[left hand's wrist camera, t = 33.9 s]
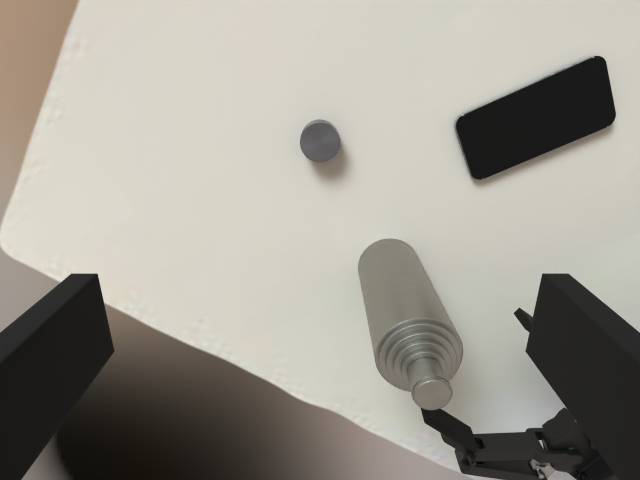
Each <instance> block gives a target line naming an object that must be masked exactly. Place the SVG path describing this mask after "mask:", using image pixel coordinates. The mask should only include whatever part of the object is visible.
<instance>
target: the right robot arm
mask: <svg viewBox="0 0 640 480" xmlns="http://www.w3.org/2000/svg"><path fill="white" fill-rule="evenodd" d="M514 314H515V316H516V317H517V319H518V320H519V321H520V323H521V324H522V325H523V327H524V328H525V329H526V330H527V331H528V332H530V329H531V324H532V320H533V317H532V316H530V315H529V314H527V313H526V312H525V311H523V310H522V309H520V308H519V309H518V310H516V311H515V312H514ZM421 411H422V415H423V418H424V422H425V423H426V424H427V425H429V426H431V427H432V428H434V429H436V430H437V431H439V432H440V433H441V436H442V439H443V441H444V442H445V443H447V444H449V445H450V446H452V447H453V448H455V454H456V458H457V461H458V464H459V467H460V470H461V472H462V473H463V474H468V475H475V476H482V477H489V478H496V479H503V480H548V479H547V478H548V477H549V476H550V475H551V474H552V473H553V472H554V471H555V470H557V471H563V472H567V473H569V474H570V475H572V476H573V477H574V478H575V479H577V480H619V479H618V478H617V476H616V475H615V474H614V472H613V471H612V470H611V468H610V467H609V465H608V464H607V463H606V461H605V460H604V459H603V457H602V456H601V454H600V453H599V452H598V450H597V449H596V448H595V446H594V445H593V443H592V442H591V441H590V439H589V438H588V437H587V435H586V434H585V432H584V431H583V430H582V428H581V427H580V426H579V424H578V423H577V421H576V420H575V419H574V417H573V416H572V414H571V413H570V412H569V410H568V409H566V408H563V409H562V410H561V411H559V412H558V414H557V415H556V416H555V417H554V418H553V419H551V420H549V421H547V422H546V423H545V424H543V425H542V427H543V428H528V429H526V432H518V433H492V434H473V433H472V430H471V428H470V427H469V426H467V425H466V424H464V423H463V422H461V421H459V420H458V419H456V418H455V417H453V416H451V415H450V414H448V413H447V412H445V411H443V410H442V409H436V410H426V409H423V408H421ZM539 440H542V442H543V447H544V449H543V448H542V446H541V444H540V442H539Z"/></svg>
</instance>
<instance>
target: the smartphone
mask: <svg viewBox="0 0 640 480" xmlns="http://www.w3.org/2000/svg"><path fill="white" fill-rule="evenodd" d="M615 117H616V112H615V107H614V101H613V96H612V91H611V86H610V80H609V75H608V70H607V65H606V61H605V59H604V58H603V57H600V56H592V57H589V58H587V59H584V60H582V61H580V62H578V63H575V64H573V65H571V66H569V67H566V68H564V69H562V70H560V71H557V72H555V73H553V74H551V75H548V76H546V77H544V78H542V79H540V80H537V81H535V82H533V83H531V84H528V85H526V86H524V87H522V88H519V89H517V90H515V91H513V92H510V93H508V94H506V95H504V96H502V97H499V98H497V99H495V100H493V101H490V102H488V103H486V104H484V105H481V106H479V107H477V108H475V109H472V110H470V111H468V112H466V113H463V114H461V115H460V116H459V117H458V118H457V119H456V121H455V125H454V126H455V130H456V133H457V137H458V140H459V143H460V146H461V149H462V152H463V155H464V158H465V161H466V164H467V167H468V170H469V173H470V175H471V176H472V177H474V178H475V179H484V178H486V177H489V176H491V175H494V174H496V173H498V172H501V171H503V170H506V169H508V168H510V167H513V166H515V165H517V164H520V163H522V162H525V161H527V160H529V159H532V158H534V157H537V156H539V155H541V154H544V153H546V152H549V151H551V150H553V149H556V148H558V147H561V146H563V145H565V144H568V143H570V142H573V141H575V140H577V139H580V138H582V137H585V136H587V135H589V134H592V133H594V132H596V131H599V130H601V129H604V128H606V127H608V126H610V125H611V124H612V123H613V121H614V120H615Z"/></svg>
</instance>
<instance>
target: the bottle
mask: <svg viewBox="0 0 640 480" xmlns="http://www.w3.org/2000/svg"><path fill="white" fill-rule="evenodd" d="M358 272H359V278H360V283H361V288H362V293H363V299H364V304H365V309H366V315H367V320H368V325H369V331H370V336H371V341H372V346H373V352H374V357H375V362H376V366H377V369H378V371H379V373H380V374H381V376H382V377H383V378H384V379H385V380H386V381H388V382H389V383H390V384H392V385H393V386H395V387H397V388H399V389H402V390H405V391H410V392H412V393H411V395H412V398H413V400H414V401H415V403H416V404H417V405H418V406H419V407H421V408H423V409H426V410H436V409H440V408H442V407H444V406H445V405H446V404H447V403H448V402H449V401H450V399H451V397H452V388H451V386H450V383H449V380H450V379H451V378H452V377H453V376H454V375H455V373H456V372H457V370H458V368H459V366H460V363H461V360H462V356H463V346H462V342H461V339H460V337H459V335H458V333H457V331H456V329H455V327H454V325H453V323H452V322H451V320H450V318H449V316H448V314H447V312H446V310H445V308H444V306H443V304H442V302H441V300H440V298H439V297H438V295H437V293H436V291H435V289H434V287H433V285H432V283H431V281H430V279H429V277H428V275H427V273H426V271H425V270H424V268H423V266H422V264H421V262H420V260H419V258H418V256H417V254H416V252H415V251H414V249H413V248H412V247H411V246H410V245H408V244H407V243H405V242H403V241H401V240H397V239H384V240H380V241H377V242H375V243H373V244H372V245H370V246H369V247H368V248H367V249H366V250H365V251H364V252H363V254H362V255H361V257H360V260H359V264H358Z"/></svg>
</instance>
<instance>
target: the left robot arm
mask: <svg viewBox="0 0 640 480" xmlns="http://www.w3.org/2000/svg"><path fill="white" fill-rule="evenodd" d="M113 353H114V347H113V343H112V338H111V334H110V329H109V324H108V320H107V315H106V311H105V306H104V301H103V297H102V292H101V287H100V283H99V278H98V274H71V275H69V276H68V277H67V278H66V279H65V280H63V281H62V282H61V283H60V284H59V285H57V286H56V287H55V288H54V289H53V290H51V291H50V292H49V293H48V294H47V295H45V296H44V297H43V298H42V299H40V300H39V301H38V302H37V303H36V304H34V305H33V306H32V307H31V308H30V309H28V310H27V311H26V312H25V313H24V314H22V315H21V316H20V317H19V318H17V319H16V320H15V321H14V322H13V323H11V324H10V325H9V326H8V327H7V328H5V329H4V330H3V331H2V332H1V333H0V480H21V479H22V478H23V476H24V475H25V474H26V472H27V471H28V470H29V468H30V467H31V465H32V464H33V463H34V461H35V460H36V459H37V457H38V456H39V454H40V453H41V452H42V450H43V449H44V448H45V446H46V445H47V443H48V442H49V441H50V439H51V438H52V437H53V435H54V434H55V432H56V431H57V430H58V428H59V427H60V425H61V424H62V423H63V421H64V420H65V419H66V417H67V416H68V414H69V413H70V412H71V410H72V409H73V408H74V406H75V405H76V403H77V402H78V401H79V399H80V398H81V397H82V395H83V394H84V392H85V391H86V390H87V388H88V387H89V385H90V384H91V383H92V381H93V380H94V379H95V377H96V376H97V374H98V373H99V372H100V370H101V369H102V368H103V366H104V365H105V363H106V362H107V361H108V359H109V358H110V357H111V355H112V354H113ZM526 353H527V354H528V355H529V357H530V358H531V359H532V361H533V362H534V364H535V365H536V366H537V368H538V369H539V370H540V372H541V373H542V375H543V376H544V377H545V379H546V380H547V381H548V383H549V384H550V386H551V387H552V388H553V390H554V391H555V392H556V394H557V395H558V397H559V398H560V399H561V401H562V402H563V403H564V405H565V406H566V408H567V409H568V410H569V412H570V413H571V414H572V416H573V417H574V419H575V420H576V421H577V423H578V424H579V426H580V427H581V428H582V430H583V431H584V432H585V434H586V435H587V437H588V438H589V439H590V441H591V442H592V443H593V445H594V446H595V448H596V449H597V450H598V452H599V453H600V454H601V456H602V457H603V459H604V460H605V461H606V463H607V464H608V465H609V467H610V468H611V470H612V471H613V472H614V474H615V475H616V476H617V478H618V479H619V480H640V333H639V332H638V331H637V330H636V329H635V328H633V327H632V326H631V325H630V324H629V323H627V322H626V321H625V320H624V319H622V318H621V317H620V316H619V315H618V314H616V313H615V312H614V311H613V310H612V309H610V308H609V307H608V306H607V305H606V304H604V303H603V302H602V301H601V300H600V299H598V298H597V297H596V296H595V295H594V294H592V293H591V292H590V291H589V290H587V289H586V288H585V287H584V286H583V285H581V284H580V283H579V282H578V281H577V280H575V279H574V278H573V277H572V276H571V275H569V274H542V278H541V283H540V287H539V292H538V297H537V301H536V306H535V310H534V315H533V320H532V324H531V329H530V334H529V338H528V343H527V347H526Z"/></svg>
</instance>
